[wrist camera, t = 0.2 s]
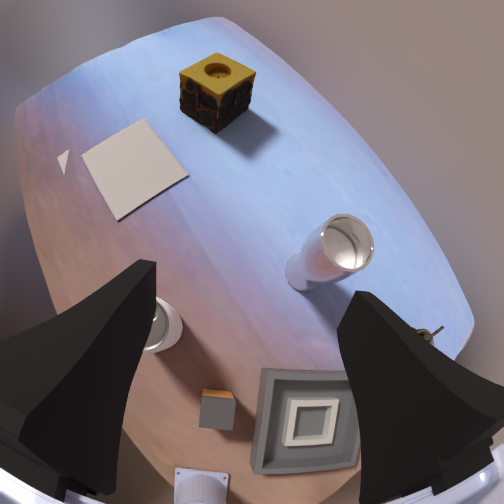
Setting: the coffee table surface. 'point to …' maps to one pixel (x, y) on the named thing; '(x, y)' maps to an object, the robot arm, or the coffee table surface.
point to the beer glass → (331, 253)
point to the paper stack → (131, 167)
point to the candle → (216, 91)
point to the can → (163, 328)
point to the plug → (217, 409)
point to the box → (304, 422)
